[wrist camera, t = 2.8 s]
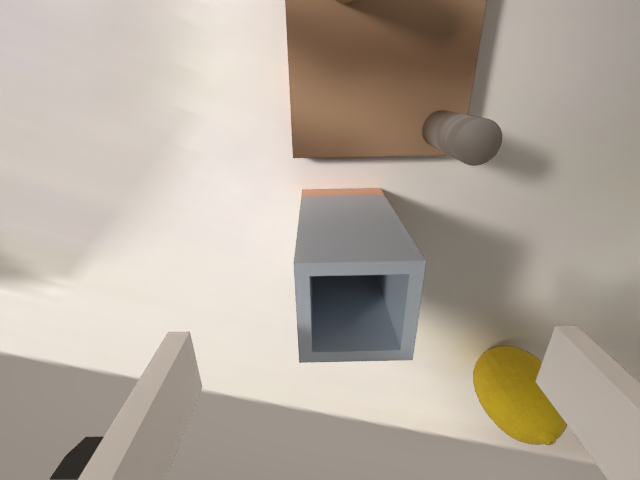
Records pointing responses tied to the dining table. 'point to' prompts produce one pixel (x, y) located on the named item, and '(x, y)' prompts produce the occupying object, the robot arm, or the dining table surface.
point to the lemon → (516, 396)
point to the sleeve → (355, 278)
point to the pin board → (386, 79)
